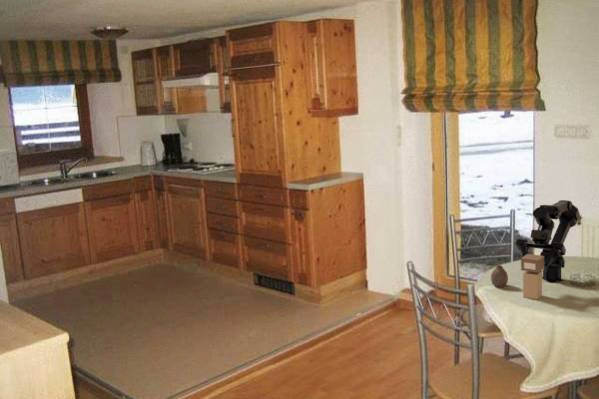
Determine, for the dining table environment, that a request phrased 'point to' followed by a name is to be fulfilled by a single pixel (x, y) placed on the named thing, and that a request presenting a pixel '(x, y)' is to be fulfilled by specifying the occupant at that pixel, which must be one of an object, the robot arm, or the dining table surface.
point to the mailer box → (532, 285)
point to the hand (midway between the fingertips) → (535, 264)
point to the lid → (532, 263)
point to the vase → (499, 277)
